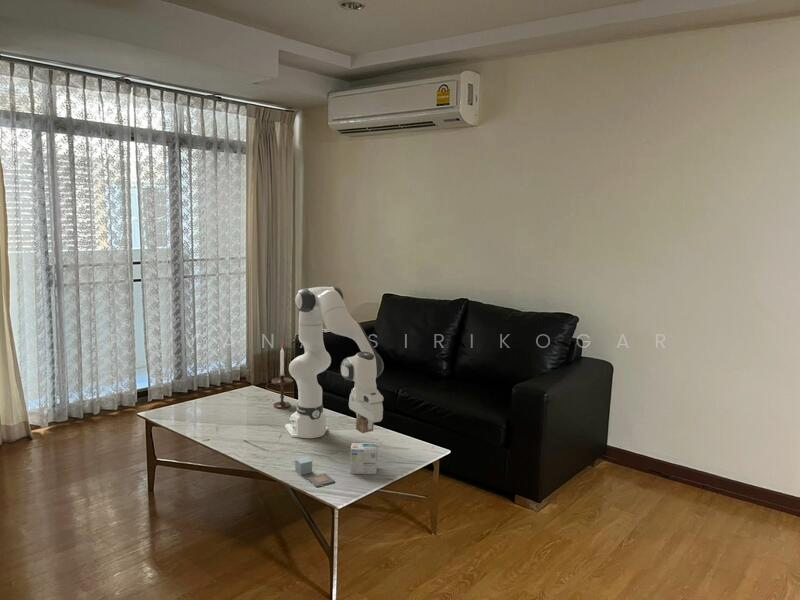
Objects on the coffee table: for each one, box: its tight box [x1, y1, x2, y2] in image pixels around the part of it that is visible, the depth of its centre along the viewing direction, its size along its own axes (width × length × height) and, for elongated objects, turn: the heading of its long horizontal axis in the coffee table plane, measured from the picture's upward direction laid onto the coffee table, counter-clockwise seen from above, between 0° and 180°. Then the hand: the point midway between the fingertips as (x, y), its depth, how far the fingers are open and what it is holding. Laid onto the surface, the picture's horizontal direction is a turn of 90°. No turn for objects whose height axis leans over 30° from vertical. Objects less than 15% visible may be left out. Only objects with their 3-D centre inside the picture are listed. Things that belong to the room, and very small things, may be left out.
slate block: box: [294, 456, 313, 476], centre depth 234 cm, size 5×5×5 cm
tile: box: [306, 472, 336, 488], centre depth 227 cm, size 8×8×1 cm
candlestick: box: [271, 342, 293, 410], centre depth 310 cm, size 11×11×35 cm
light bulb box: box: [350, 442, 378, 475], centre depth 236 cm, size 11×7×11 cm, turn 92°
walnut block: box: [355, 416, 374, 434], centre depth 234 cm, size 5×5×5 cm
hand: (364, 426), depth 234 cm, fingers closed on walnut block, 5 cm apart
